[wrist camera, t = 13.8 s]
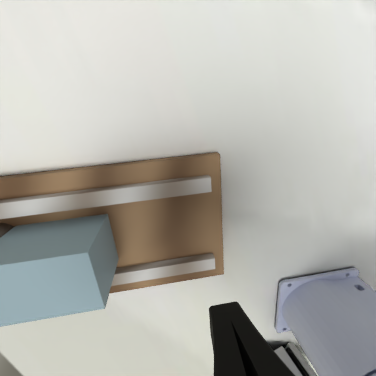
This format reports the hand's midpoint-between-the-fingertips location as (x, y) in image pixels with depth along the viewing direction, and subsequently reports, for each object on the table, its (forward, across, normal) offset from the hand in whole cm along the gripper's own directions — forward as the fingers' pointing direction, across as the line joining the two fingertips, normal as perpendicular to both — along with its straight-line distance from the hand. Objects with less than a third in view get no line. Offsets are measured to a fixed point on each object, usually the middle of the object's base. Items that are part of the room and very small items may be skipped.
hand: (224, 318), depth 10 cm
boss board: (+10, +8, 0) cm, 12 cm away
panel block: (+9, +10, 0) cm, 14 cm away
